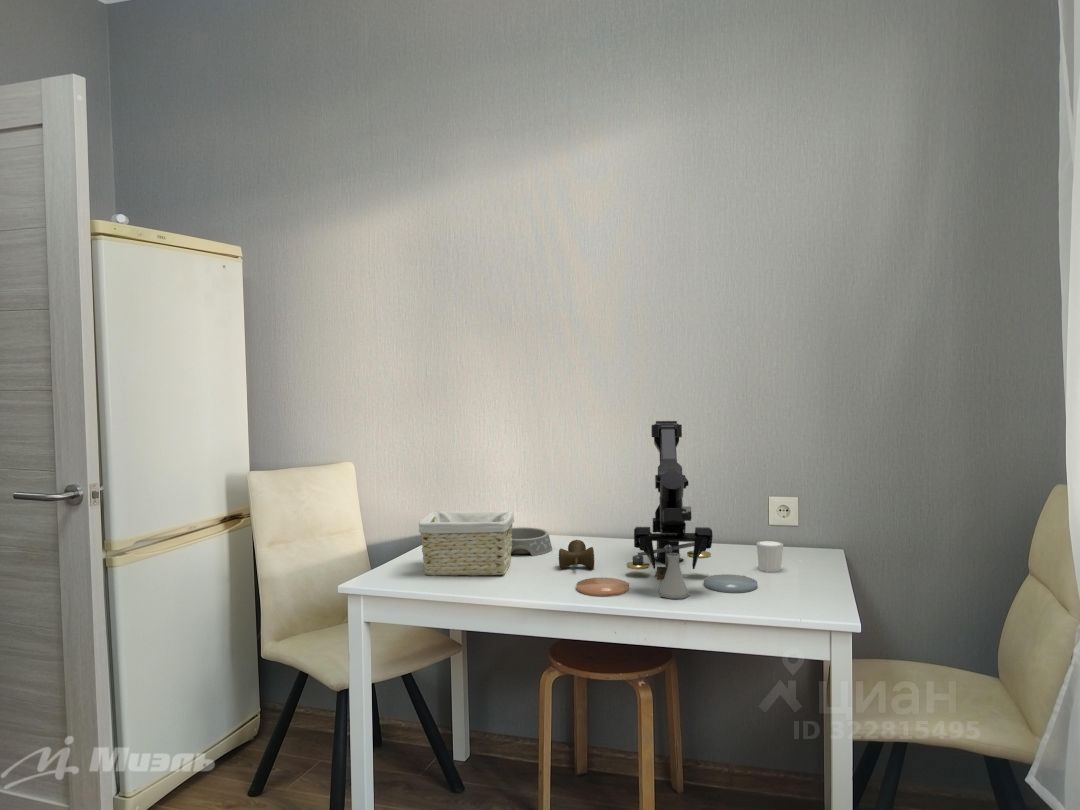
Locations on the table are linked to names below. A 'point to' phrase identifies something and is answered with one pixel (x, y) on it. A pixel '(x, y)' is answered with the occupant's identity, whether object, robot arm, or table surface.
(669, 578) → the flask
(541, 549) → the dog bowl
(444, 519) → the storage basket
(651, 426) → the robot arm
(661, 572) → the balance
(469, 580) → the table surface
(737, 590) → the slate dish
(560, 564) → the kendama
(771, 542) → the white cup
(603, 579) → the terracotta dish
